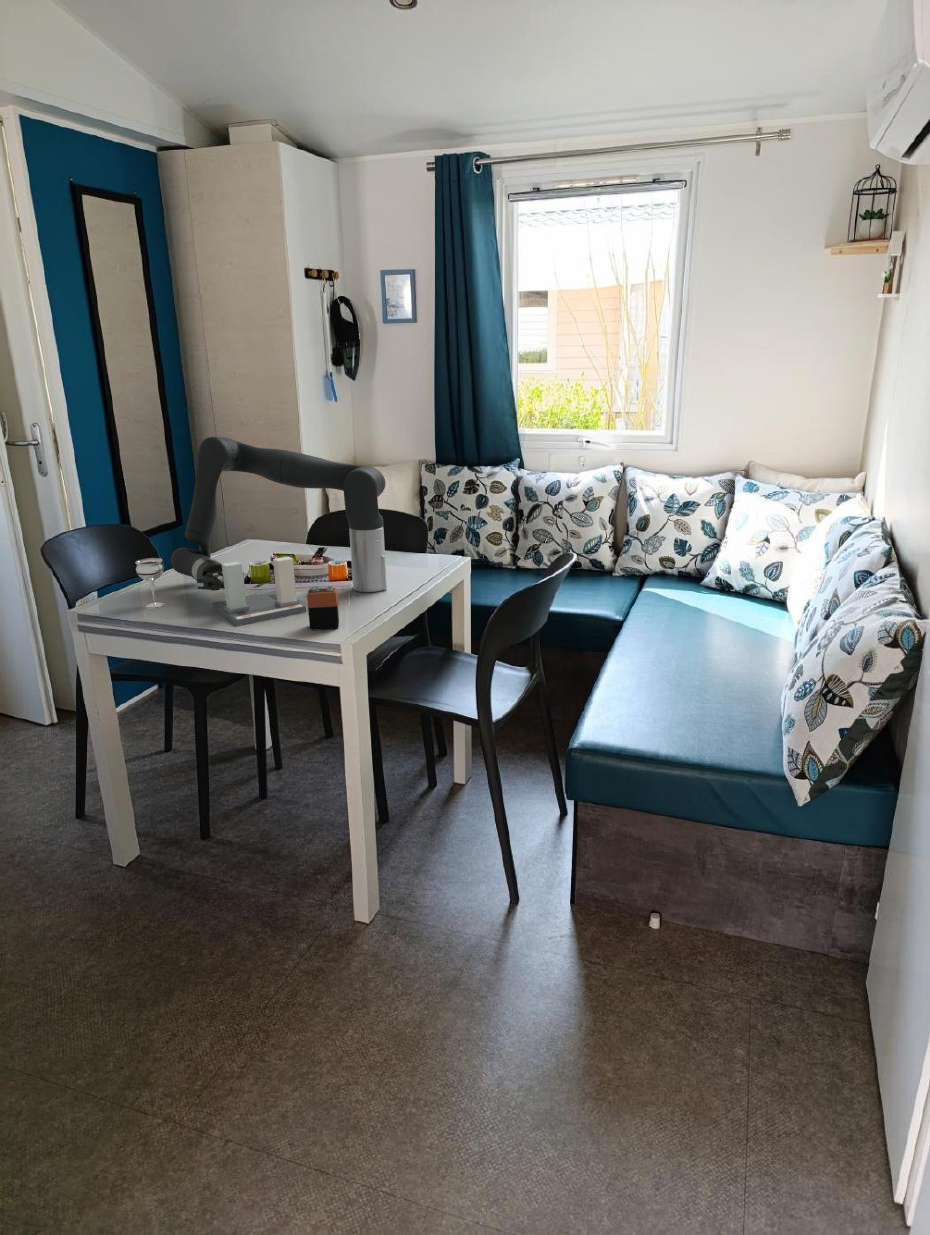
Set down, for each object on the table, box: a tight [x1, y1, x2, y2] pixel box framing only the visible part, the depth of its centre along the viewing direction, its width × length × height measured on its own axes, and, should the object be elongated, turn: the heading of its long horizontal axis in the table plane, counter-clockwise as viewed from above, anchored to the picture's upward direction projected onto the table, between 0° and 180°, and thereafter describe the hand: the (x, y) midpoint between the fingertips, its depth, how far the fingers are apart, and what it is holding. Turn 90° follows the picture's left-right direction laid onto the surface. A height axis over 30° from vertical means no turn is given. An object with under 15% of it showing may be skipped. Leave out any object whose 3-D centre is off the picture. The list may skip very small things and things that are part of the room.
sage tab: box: [221, 560, 249, 613], centre depth 204 cm, size 4×5×12 cm
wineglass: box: [135, 557, 165, 608], centre depth 214 cm, size 7×7×12 cm
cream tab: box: [272, 556, 300, 607], centre depth 207 cm, size 4×5×12 cm
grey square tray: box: [211, 590, 307, 627], centre depth 210 cm, size 18×18×2 cm
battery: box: [306, 585, 340, 630], centre depth 195 cm, size 4×7×10 cm, turn 97°
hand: (232, 587), depth 205 cm, fingers closed
